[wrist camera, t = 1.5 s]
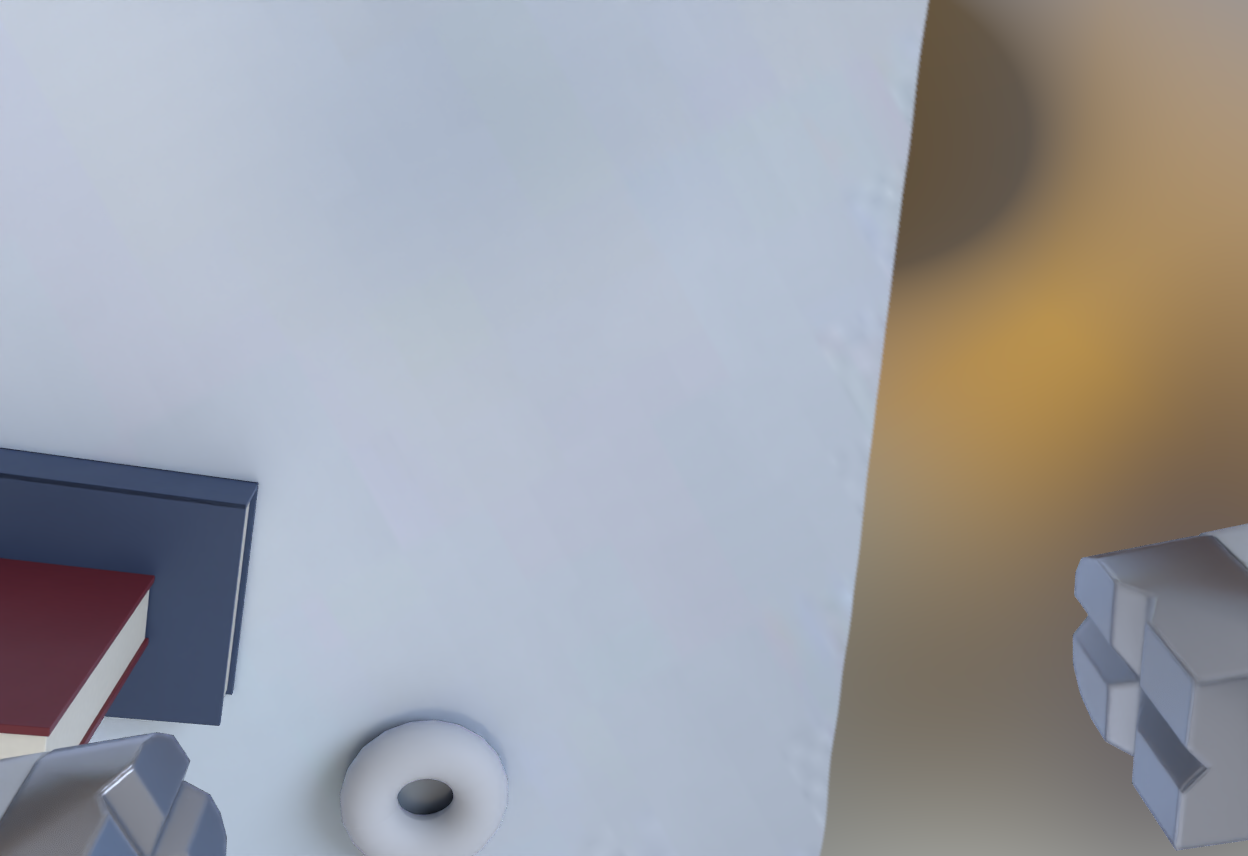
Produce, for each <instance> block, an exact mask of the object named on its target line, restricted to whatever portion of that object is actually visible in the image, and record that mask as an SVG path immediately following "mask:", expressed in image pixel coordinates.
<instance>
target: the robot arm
mask: <svg viewBox="0 0 1248 856" xmlns="http://www.w3.org/2000/svg"><path fill="white" fill-rule="evenodd" d="M1074 595H1075V597H1076V598H1077V599H1078V601H1079V602H1080V604H1081V605H1082V606H1083V608H1084V609H1085V611H1086V612H1087V613H1088V616H1087V618H1086V619H1085V620H1084V622H1083V623H1082V624H1081V625H1080V627H1079V628H1078V629H1077V630H1076V632H1075V633H1074V634H1073V666H1074V670H1075V674H1076V678H1077V682H1078V686H1079V691H1080V694H1081V697H1082V699H1083V701H1084V704H1085V706H1086V708H1087V710H1088V713H1089V715H1090V717H1091V719H1092V721H1093V722H1094V724H1095V725H1096V727H1097V729H1098V730H1099V732H1100V733H1101V735H1102V737H1103V738H1104V740H1105V741H1106V742H1108V743H1110V744H1112V745H1113V746H1115V747H1117V748H1119V749H1121V750H1122V751H1124V752H1126V753H1128V754H1130V755H1132V756H1133V757H1134V763H1133V777H1132V784H1133V785H1134V787H1135V788H1136V790H1137V791H1138V793H1139V795H1140V796H1141V797H1142V799H1143V801H1144V802H1145V804H1146V805H1147V807H1148V808H1149V810H1150V811H1151V813H1152V814H1153V816H1154V818H1155V819H1156V821H1157V822H1158V824H1159V825H1160V827H1161V828H1162V830H1163V831H1164V833H1165V834H1166V836H1167V837H1168V839H1169V840H1170V842H1171V844H1172V845H1173V847H1174V848H1175V850H1183V849H1190V848H1196V847H1203V846H1210V845H1217V844H1224V843H1231V842H1238V841H1244V840H1248V524H1244V525H1239V526H1234V527H1229V528H1225V529H1220V530H1215V531H1210V532H1205V533H1201V534H1200V535H1199V536H1191V537H1186V538H1181V539H1176V540H1171V541H1165V542H1160V543H1155V544H1150V545H1145V546H1140V547H1135V548H1130V549H1125V550H1119V551H1114V552H1109V553H1104V554H1099V555H1094V556H1089V557H1084V558H1081V561H1080V563H1079V565H1078V568H1077V570H1076V574H1075V593H1074ZM189 763H190V759H189V758H188V756H187V755H186V753H185V752H184V750H183V749H182V747H181V746H180V744H179V743H178V741H177V740H176V738H175V737H174V735H170V734H164V733H158V732H156V733H150V734H143V735H137V736H131V737H125V738H119V739H113V740H107V741H101V742H95V743H89V744H82V745H76V746H70V747H64V748H58V749H54V750H52V751H48V752H41V753H34V754H28V755H22V756H16V757H10V758H4V759H0V856H226V844H227V836H226V832H225V828H224V824H223V821H222V817H221V813H220V811H219V809H218V808H217V806H216V804H215V802H214V801H213V799H212V797H211V795H210V794H208V793H207V792H205V791H203V790H201V789H199V788H197V787H195V786H194V785H192V784H190V783H188V782H186V781H184V778H185V775H186V772H187V769H188V766H189Z"/></svg>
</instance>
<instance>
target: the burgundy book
mask: <svg viewBox="0 0 1248 856" xmlns="http://www.w3.org/2000/svg"><path fill="white" fill-rule="evenodd" d="M154 580H155V576H154V575H146V574H137V573H128V572H119V571H110V570H102V569H93V568H84V567H75V566H66V565H57V564H49V563H40V562H31V561H22V560H13V559H5V558H0V759H4V758H10V757H16V756H22V755H28V754H34V753H41V752H48V751H52V750H54V749H58V748H64V747H70V746H76V745H82V744H88V742H89V741H90V739H91V737H92V736H93V734H94V732H95V731H96V729H97V727H98V726H99V724H100V723H101V721H102V719H103V718H104V716H105V714H106V713H107V711H108V709H109V708H110V706H111V704H112V703H113V701H114V700H115V698H116V696H117V695H118V693H119V691H120V690H121V688H122V686H123V685H124V683H125V681H126V680H127V678H128V677H129V675H130V673H131V672H132V670H133V668H134V667H135V665H136V663H137V662H138V660H139V658H140V657H141V655H142V654H143V652H144V650H145V649H146V647H147V645H148V641H149V638H145V630H146V620H147V610H148V599H149V589H150V587H151V586H152V585H153V583H154Z"/></svg>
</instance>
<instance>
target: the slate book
mask: <svg viewBox="0 0 1248 856" xmlns="http://www.w3.org/2000/svg"><path fill="white" fill-rule="evenodd" d="M258 484H259V483H257V482H249V481H242V480H234V479H227V478H220V477H212V476H205V475H198V474H190V473H183V472H175V471H168V470H161V469H153V468H146V467H138V466H131V465H124V464H116V463H109V462H102V461H94V460H87V459H79V458H72V457H65V456H57V455H50V454H42V453H35V452H28V451H20V450H13V449H6V448H0V558H5V559H13V560H22V561H31V562H40V563H49V564H57V565H66V566H75V567H84V568H93V569H102V570H110V571H119V572H128V573H137V574H146V575H154V576H155V580H154V583H153V585H152V586H151V587H150V589H149V599H148V610H147V620H146V630H145V638H149V641H148V645H147V647H146V649H145V650H144V652H143V654H142V655H141V657H140V658H139V660H138V662H137V663H136V665H135V667H134V668H133V670H132V672H131V673H130V675H129V677H128V678H127V680H126V681H125V683H124V685H123V686H122V688H121V690H120V691H119V693H118V695H117V696H116V698H115V700H114V701H113V703H112V704H111V706H110V708H109V709H108V711H107V713H106V714H105V716H107V717H119V718H131V719H143V720H155V721H167V722H179V723H191V724H203V725H215V726H219V725H220V723H221V715H222V707H223V698H224V695H225V694H230V695H232V693H233V687H234V679H235V671H236V663H237V655H238V646H239V638H240V630H241V622H242V614H243V606H244V598H245V589H246V581H247V573H248V565H249V557H250V549H251V541H252V532H253V524H254V516H255V508H256V500H257V492H258Z"/></svg>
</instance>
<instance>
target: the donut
mask: <svg viewBox="0 0 1248 856" xmlns="http://www.w3.org/2000/svg"><path fill="white" fill-rule="evenodd" d="M421 779H433V780H439V781H441V782H443V783H445V784H447V785H448V786H449V787H450V788H451V789H452V792H453V800H452V802H451V803H450V804H449V805H448V806H447V807H446V808H444V809H443V810H441V811H439V812H436V813H433V814H426V815H420V814H414V813H411V812H409V811H407V810H405V809H403V808H402V807H401V806H400V804H399V802H398V800H397V796H398V793H399V792H400V790H401V789H402V788H403V787H404V786H405V785H407V784H408V783H411V782H414V781H416V780H421ZM340 802H341V815H342V823H343V825H344V827H345V829H346V831H347V833H348V835H349V837H350V839H351V841H352V843H353V844H354V845H355V846H356V847H357V848H358V849H359V850H360V851H361V852H362V853H363V854H365V855H366V856H474V855H475V854H477V853H478V852H479V851H481V850H482V849H483V848H484V847H485V846H486V844H487V843H488V842H489V841H490V839H491V838H492V837H493V835H494V834H495V833H496V832H497V830H498V829H499V828H500V825H501V823H502V820H503V817H504V814H505V811H506V808H507V805H508V778H507V775H506V773H505V770H504V768H503V765H502V763H501V760H500V758H499V756H498V753H497V752H496V751H495V750H494V749H493V748H492V747H491V746H490V745H489V744H488V743H487V742H486V741H485V740H484V738H483V737H481V736H480V735H478V734H476V733H474V732H472V731H470V730H468V729H467V728H465V727H463V726H461V725H459V724H454V723H449V722H444V721H439V720H426V721H413V722H408V723H405V724H403V725H400V726H397V727H394V728H392V729H389V730H386V731H385V732H383V733H382V734H381V735H379V736H378V737H376V738H375V739H374V740H372V741H371V742H370V743H368V744H367V745H365V746H364V747H363V748H362V750H361V751H360V752H359V754H358V755H357V756H356V758H355V759H354V760H353V762H352V763H351V764H350V766H349V767H348V770H347V772H346V775H345V779H344V782H343V785H342V788H341V792H340Z"/></svg>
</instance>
